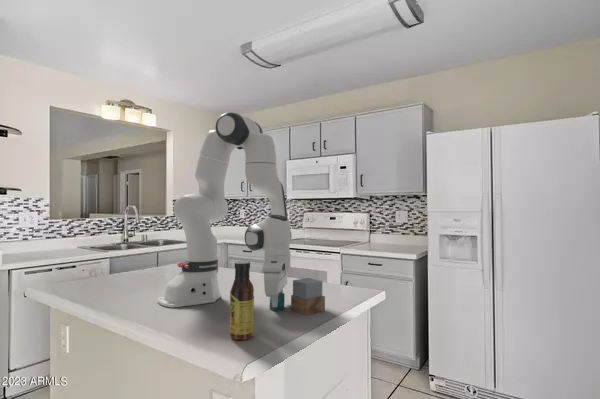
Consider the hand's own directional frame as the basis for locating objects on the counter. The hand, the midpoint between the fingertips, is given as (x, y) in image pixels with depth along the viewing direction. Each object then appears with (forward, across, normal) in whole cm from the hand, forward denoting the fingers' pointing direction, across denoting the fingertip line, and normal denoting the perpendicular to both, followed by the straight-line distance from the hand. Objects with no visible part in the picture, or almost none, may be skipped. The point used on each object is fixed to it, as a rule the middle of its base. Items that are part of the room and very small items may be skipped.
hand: (277, 303), depth 120 cm
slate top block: (-3, 0, +10) cm, 11 cm away
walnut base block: (+2, 0, +10) cm, 11 cm away
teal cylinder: (+2, 0, 0) cm, 2 cm away
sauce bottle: (+2, +27, -4) cm, 28 cm away
